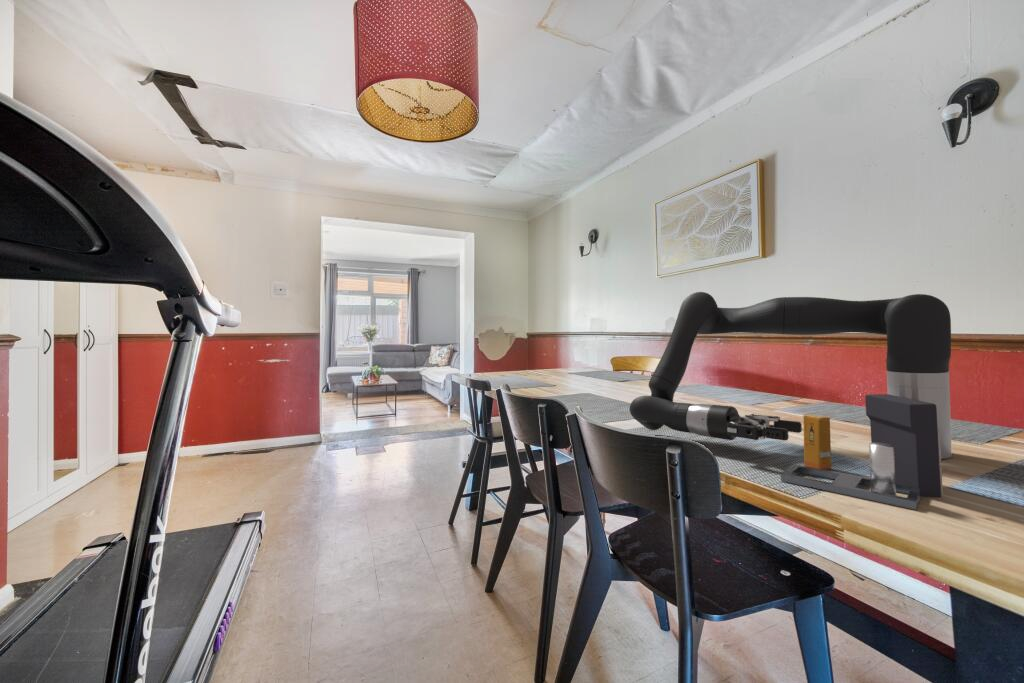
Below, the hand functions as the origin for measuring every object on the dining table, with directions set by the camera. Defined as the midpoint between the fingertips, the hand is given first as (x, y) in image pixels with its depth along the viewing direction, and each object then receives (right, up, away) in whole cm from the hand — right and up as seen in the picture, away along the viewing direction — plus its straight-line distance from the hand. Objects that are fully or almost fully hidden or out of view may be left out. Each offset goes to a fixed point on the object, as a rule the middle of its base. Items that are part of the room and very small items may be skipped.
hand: (794, 431), depth 81 cm
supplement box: (+3, -7, -3) cm, 8 cm away
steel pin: (+2, -6, -17) cm, 18 cm away
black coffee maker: (+10, -7, -13) cm, 17 cm away
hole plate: (-1, -7, -13) cm, 15 cm away
